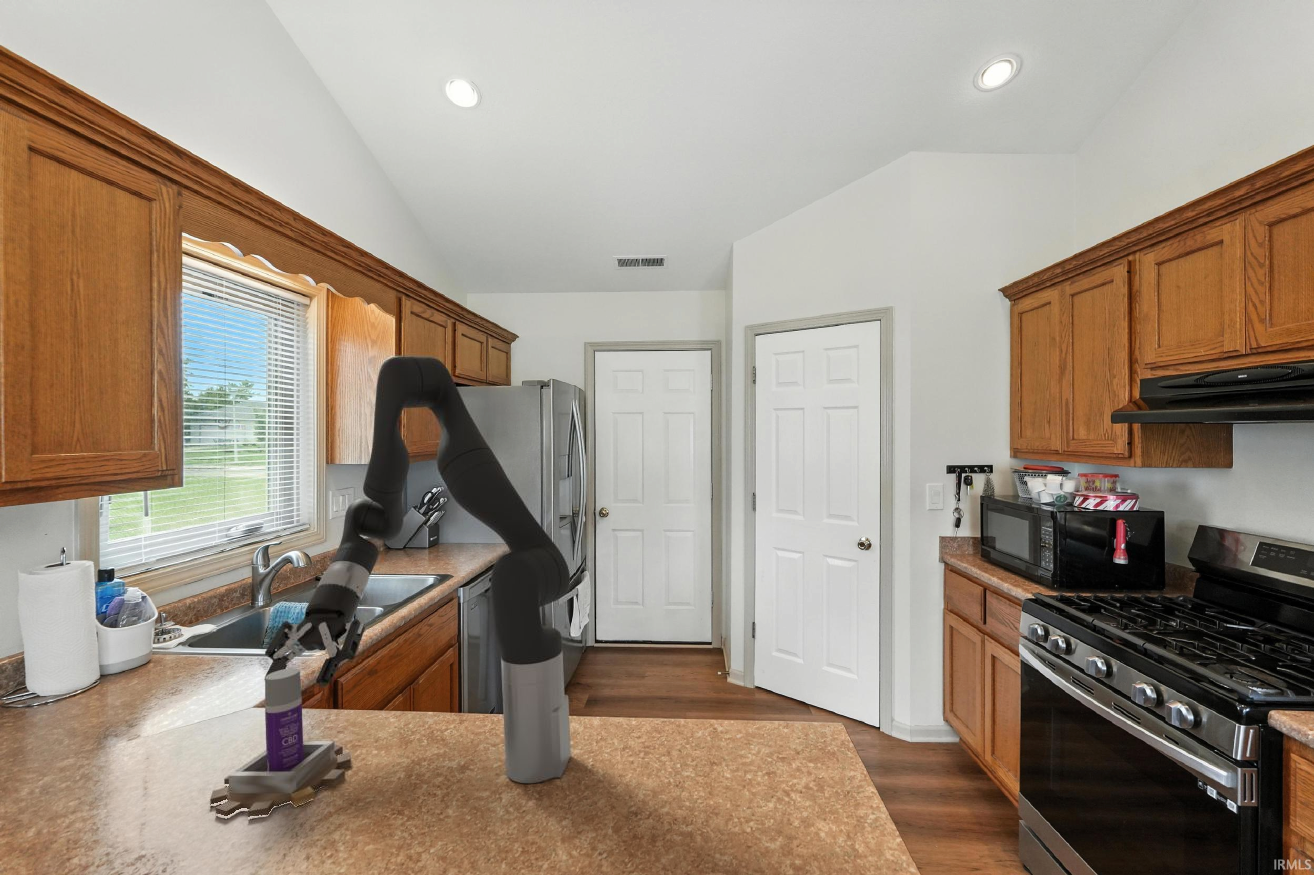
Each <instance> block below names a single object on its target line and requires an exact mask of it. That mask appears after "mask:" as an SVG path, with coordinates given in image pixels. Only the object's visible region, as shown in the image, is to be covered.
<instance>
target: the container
mask: <svg viewBox="0 0 1314 875" xmlns="http://www.w3.org/2000/svg"><path fill="white" fill-rule="evenodd" d="M265 676H266V675H265ZM265 676H264V679H265V680H264V717H265V720H264V721H265V723H264V724H265V744H266V746H265V747H266V748H265V750H266V753H267V772H289V771H291V770H292V769H293V768H294V767H296V766H297V765H298V764H300V763H301V762H302V761H303V760H304V754H303V741H304V735H303V734H304V731H303V730H304V729H303V728H304V727H303V701H302V685H301V671H300V669H299V668H296V667H295V668H286V669H283V670H279V671H276V672H273V673H270V674H269V675H267V676H266V677H265Z"/></svg>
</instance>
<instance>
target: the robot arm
mask: <svg viewBox="0 0 1314 875" xmlns="http://www.w3.org/2000/svg"><path fill="white" fill-rule="evenodd" d="M376 380H377V381H376V389H375V390H376V391H375V392H376V393H375V400H374V401H375V404H374V413H373V414H374V418H373V435H372V446H371V453H370V458H369V461H368V466H367V468H366V469H367V470H366V473H365V474H366V475H365V477H364V480H363V484H362V485H363V486H362V490H363V494H364V495H365V497H367V498H368V499H367V498H359V499H356V500H354V501H353V502H350V504H349V506H348V507H347V509H346V511H345V514H344V522H343V524H344V525H343V530H342V537H341V540H340V543H339V545H338V546H339V547H338V548H337V550H336V553H335V555H334V556H333V558H332V560H331V562H330V564H329V566H328V567H327V569H326V571H325V572H324V573H323V575H322V576H321V578H320V580H319V582H318V584H317V587H316V588H315V590H314V592H313V594H312V596H311V598H310V600H309V602H308V603H307V606H306V608H305V610H304V617H303V619H302V620H301V621H300V622H299V623H298V624H296V623H295V624H291V623H290V622H289V621H287V620H285V621H284V622H282V623H281V625H280V627H279V628H278V630H277V631H276V634H275V635H274V636H273V638H272V639H271V641H270V642H269V645H268V647H266V648H267V649H266V650H265V651H264V655H265V656H266V657H267V658H268V659H270V660H272V663H271V664H270V666H269V669H268V670H267V672H266V674H265V676H264V679H263V680H264V681H265V677H266V676H267V675H269V674H270V673H273V672H276V671H279V670H283V669H287V667H288V664H289V663H290V662H291V661H292V660H293V659H295V658H296V657H299V656H300V657H301V656H302V655H303V654H304V653H305V652H307V651H308V652H311V651H316V650H318V651H327V655H328V658H325V660H324V662H323V664H322V666H321V669H320V671H319V673H318V676H317V678H316V680H315V682H316V684H318V685H319V686H320V687H321V688H323V687H327V686H328V685H329V684H330V683H331V682H332V681H333V680H334V677H335V675H336V672H337V670H338V668H339V665H340V664H341V663H343V662H344V661H347V660H349V661H352V660H354V659H355V657H356V655H357V653H358V649H359V646H360V644H361V641H362V638H363V636H364V633H365V629H366V627H365V625H363V623H362V622H361V621H360V620H359V619H357V618H356V619H354V617H355V614H356V612H357V610H358V608H359V605H360V602H361V600H362V598H363V596H364V594H365V592H366V589H367V587H368V582H369V579H370V576H371V574H372V573H373V572H372V571H373V569H374V567H375V566H376V564H377V560H378V558H379V555H380V551H379V548H378V546H377V545H376V544H375V543H373V542H372V541H371V540H368V539H366V538H370V539H374V540H379V541H382V542H388V541H392V540H395V538H397V537H398V535H400V533H401V531H402V528H403V525H404V508H403V491H404V488H405V484H406V482H407V477H408V473H409V472H410V471H409V470H410V464H411V463H410V455H409V451H408V448H407V445H406V443H405V440H404V439H403V435H402V434H401V432H400V427H399V426H400V425H399V424H400V419H401V418H400V417H401V415H402V412H403V410H404V409H415V408H427V409H429V410H430V411H431V412H432V414H433V415H434V417H435V418H436V420H437V423H438V424H439V427H440V439H439V443H438V448H437V455H436V464H437V465H436V466H437V470H438V473H439V475H440V477H441V479H442V480H443V483H444V485H445V486H446V487H447V490H448V491H449V493H450V495H451V497H452V498H453V500H454V501H455V502H456V503H457V504H458V506H460V507H461V508H462V509H463V510H464V511H466V512H467V513H468V514H469V515H471V516H472V517H473V518H475V519H476V520H478V521H480V523H482V524H484V525H485V526H487V527H488V528H489V529H491V531H493V532H494V533H496V534H497V535H498V536H499V537H500V538H501V540H502V541H503V542H504V543H505V544H506V546H507V547H508V549H509V550H510V552H508V553H506V554H503V555H502V556H499V558H498V559H497V560H496V561H495V563H494V565H493V568H492V570H491V578H490V594H491V605H492V615H493V626H494V628H493V629H494V634H495V638H496V640H497V644H498V646H499V649H500V662H501V664H500V665H501V683H502V684H501V685H502V686H501V689H502V706H503V708H502V710H503V711H502V712H503V730H504V732H503V734H504V754H505V756H504V758H505V759H504V761H505V762H504V763H505V772H506V776H507V778H509V779H510V780H512V781H514V782H517V783H519V784H520V783H521V784H534V783H541V782H545V781H548V780H551V779H554V778H561V777H563V774H564V772H565V770H566V768H567V765H568V764H569V763H568V762H569V761H570V758H571V757H572V752H571V748H572V747H571V730H570V729H571V727H570V708H569V707H570V706H569V705H570V704H569V696H568V695H567V694H565V681H564V680H565V679H564V677H565V676H564V658H563V638H562V634H561V632H560V631H559V630H558V629H557V628H555V627H553V626H551V627H550V626H546V625H543V624H542V617H541V608H542V607H544V606H546V605H549V604H552V603H554V602H556V601H558V600H560V599H562V598H563V597H564V596H565V595H566V594H567V592H568V591H569V587H570V584H571V575H570V570H569V566H568V564H567V561H566V559H565V557H564V556H563V553H562V552H561V551H560V549H559V547H557V545H556V544H555V542H554V541H553V540H552V538H551V537H550V536H549V534H547V532H546V531H545V530H544V529H543V527H542V526H541V524H540V523H539V522H538V520H537V519H536V518H535V517H534V516H533V514H532V513H531V511H530V509H528V507H527V505H526V503H525V502H524V500H523V499H522V497H521V496H520V494H519V492H518V491H517V489H515V487H514V485H513V484H512V482H511V480H510V479H509V477H508V476H507V474H506V472H505V470H504V469H503V467H502V465H501V462H499V460H498V458H497V457H496V455H495V453H494V451H493V450H492V449H491V446H489V444H488V443H487V441H486V439H485V438H484V436H483V435H482V434H481V432H480V430H479V428H478V426H477V425H476V423H475V420H473V417H472V416H471V414H470V412H469V410H468V408H467V407H466V404H465V403H464V400H463V398H462V396H461V394H460V391H459V389H458V387H457V385H456V383H455V381H454V379H453V377H452V375H451V372H450V371H449V370H448V368H447V366H446V365H445V364H444V362H442V361H441V360H440V359H438V358H436V357H431V356H419V355H418V356H417V355H415V356H414V355H392V356H389V357H387V358H386V359H384V361H383V362H382V364H381V366H380V368H379V372H378V377H377V379H376ZM364 537H366V538H364ZM353 619H354V620H353ZM345 634H346V636H345V639H344V642H343V645H342V646H341V642H340V640H339V639H341V638H342V637H343V636H344V635H345ZM298 642H299V645H300V646H297V645H296V644H297V643H298Z"/></svg>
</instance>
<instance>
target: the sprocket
mask: <svg viewBox="0 0 1314 875" xmlns="http://www.w3.org/2000/svg"><path fill="white" fill-rule="evenodd" d="M343 747H344V746H343V745H339V744H335V741H334V740H332V741H331V740H328V741H327V740H324V741H323V740H320V741H319V740H315V741H314V740H313V741H310V740H309V741H307V740H306V741H304V740H303V754H304V760H303V761H302V762H301V763H300V764H298V765H297V766H296V767H294V768H293V769H292V770H291V771H289V772H267V753H266V749H265V750H264V751H262V752H261V753H259V754H258V755H257V756H255V757H254V758H252V759H250V760H249V761H248V762H246V763H245V764H244V765H242V766H241V767H239V768H238V769H236V770H235V771H233V772H232V773H230V774H229V775H228V776H226V777H225V778H223V780H224V781H223V784H229V786H228V787H221V788H218V789H215V790H212V793H211V795H210V797H209V799H210V800H209V802H210V803H209V805H211V804H214V803H218V802H221V801H223V800H226V799H227V800H228V801H227V802H225V803H223V804H221V805H218V806H215V814H216V813H217V814H221V815H224V816H228V815H230V814H232V813H234V812H235V811H236V810H239V809H241V808H247V809H249V810H248V812H247V818H248V817H250V816H259V815H261V816H262V815H268V814H269V812H270V811H271V809H272V808H273V807H274V806H279V805H281V804H284V803H287V802H290V801H291V802H292V803H293V804H294V805H295V806H297V805H299V804H302V803H305V802H307V801H309V800H311V799H314V800H315V792H316V791H315V790H317V789H319V788H320V787H322V786H326V787H325V788H335V787H336V786H338V785H339V784H340V783H341V782H342V781H343V780H344V779H345V778H346V772H345V771H346V770H345V769H347V768H346V767H348V768H350V767H349V766H351V767H352V759H351V758H352V755H351V751H350V752H346V753H344V750H343ZM342 753H343V754H342ZM340 754H341V755H340ZM338 755H339V756H338ZM343 768H344V769H343ZM340 769H341V770H340ZM342 779H343V780H342ZM327 786H328V787H327ZM322 788H323V787H322ZM320 789H321V788H320ZM320 789H319V790H320ZM314 791H315V792H314ZM317 791H318V790H317Z"/></svg>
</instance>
